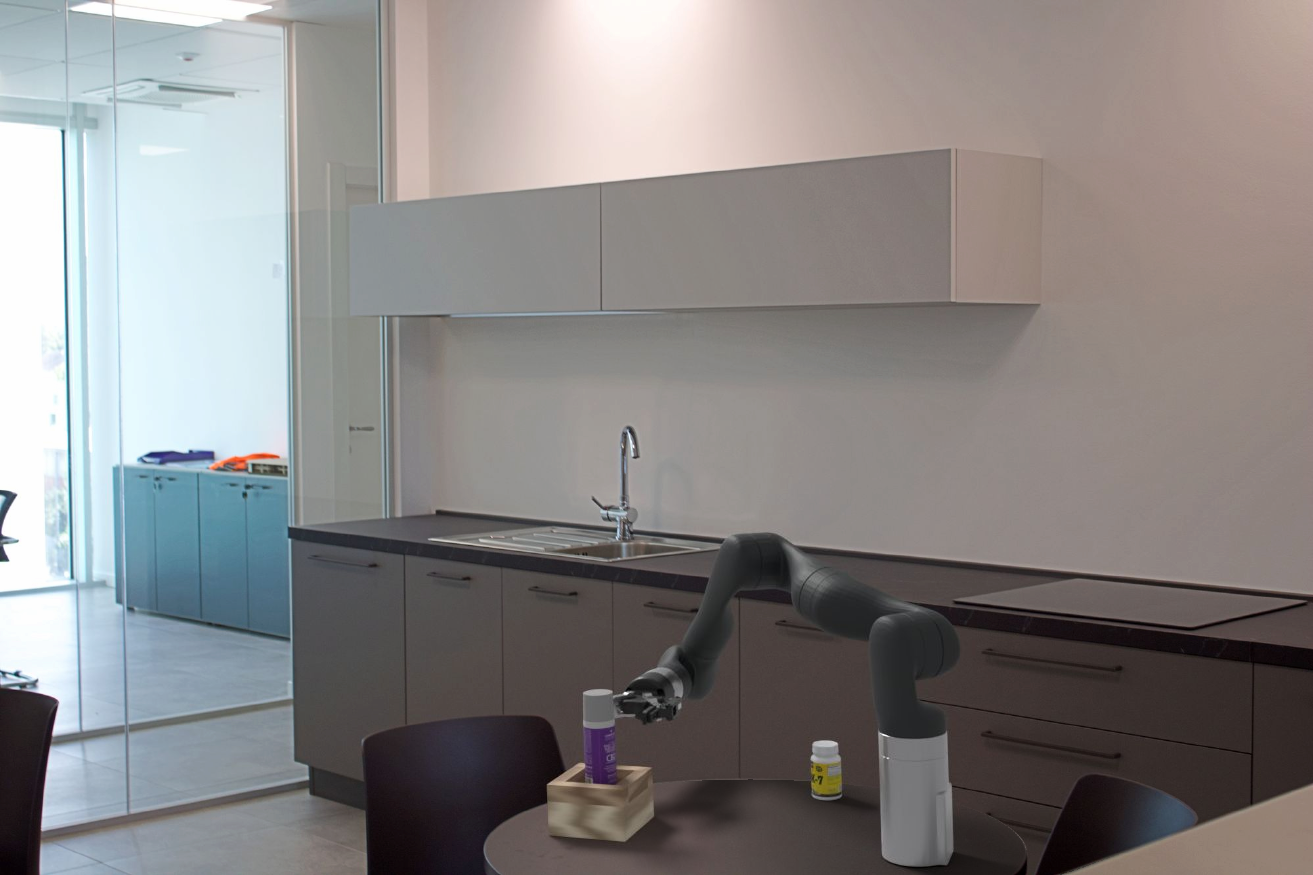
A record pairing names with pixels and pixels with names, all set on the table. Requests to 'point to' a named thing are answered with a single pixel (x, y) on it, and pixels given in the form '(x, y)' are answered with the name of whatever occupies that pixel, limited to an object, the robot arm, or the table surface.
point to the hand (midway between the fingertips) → (618, 717)
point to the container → (599, 737)
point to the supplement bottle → (826, 771)
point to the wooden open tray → (600, 804)
